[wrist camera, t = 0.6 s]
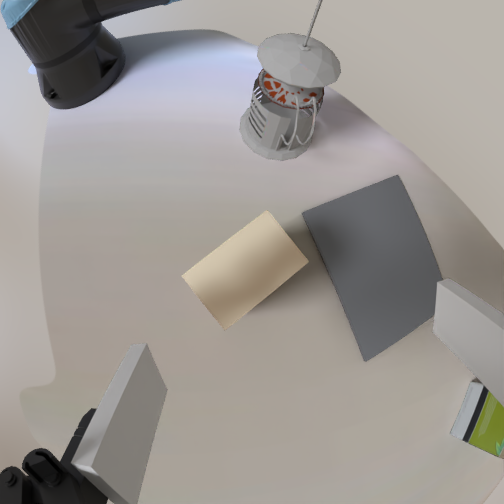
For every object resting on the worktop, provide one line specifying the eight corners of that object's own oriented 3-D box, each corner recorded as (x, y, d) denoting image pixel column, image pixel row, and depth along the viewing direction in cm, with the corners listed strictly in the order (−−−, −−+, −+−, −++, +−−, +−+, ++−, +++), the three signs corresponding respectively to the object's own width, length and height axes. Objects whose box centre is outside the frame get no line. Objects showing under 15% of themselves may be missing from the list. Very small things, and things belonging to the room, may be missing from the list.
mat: (301, 213, 35) (302, 212, 34) (396, 175, 37) (398, 174, 37) (364, 360, 33) (365, 361, 33) (447, 302, 35) (449, 302, 35)
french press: (305, 100, 38) (368, -42, 13) (321, 172, 36) (432, 32, 11) (236, 101, 36) (255, -62, 12) (244, 175, 35) (281, -3, 10)
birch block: (196, 282, 33) (181, 275, 21) (253, 237, 34) (269, 207, 22) (224, 317, 32) (224, 330, 21) (280, 271, 34) (311, 259, 22)
